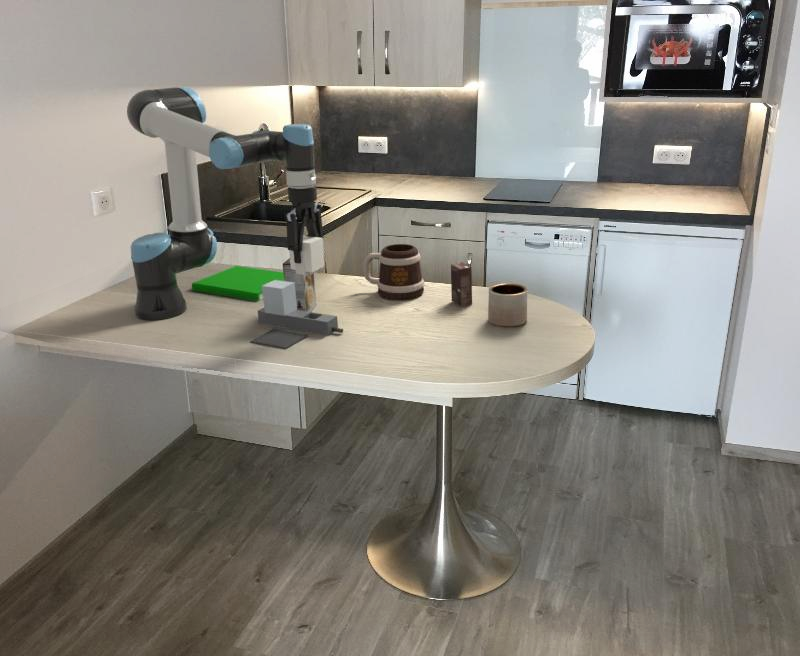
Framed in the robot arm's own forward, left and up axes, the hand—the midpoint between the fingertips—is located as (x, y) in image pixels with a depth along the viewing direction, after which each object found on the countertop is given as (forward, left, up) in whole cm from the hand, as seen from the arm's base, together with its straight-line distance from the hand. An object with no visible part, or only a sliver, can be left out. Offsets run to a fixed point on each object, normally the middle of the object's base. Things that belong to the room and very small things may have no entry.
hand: (307, 270), depth 197 cm
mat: (-4, -10, -17) cm, 20 cm away
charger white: (0, 0, 0) cm, 0 cm away
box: (+30, +36, -17) cm, 50 cm away
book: (-44, +25, -18) cm, 54 cm away
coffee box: (-12, +12, -17) cm, 24 cm away
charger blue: (-11, 0, -14) cm, 18 cm away
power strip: (-4, 0, -17) cm, 18 cm away
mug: (+6, +37, -17) cm, 41 cm away
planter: (+48, +27, -17) cm, 58 cm away
